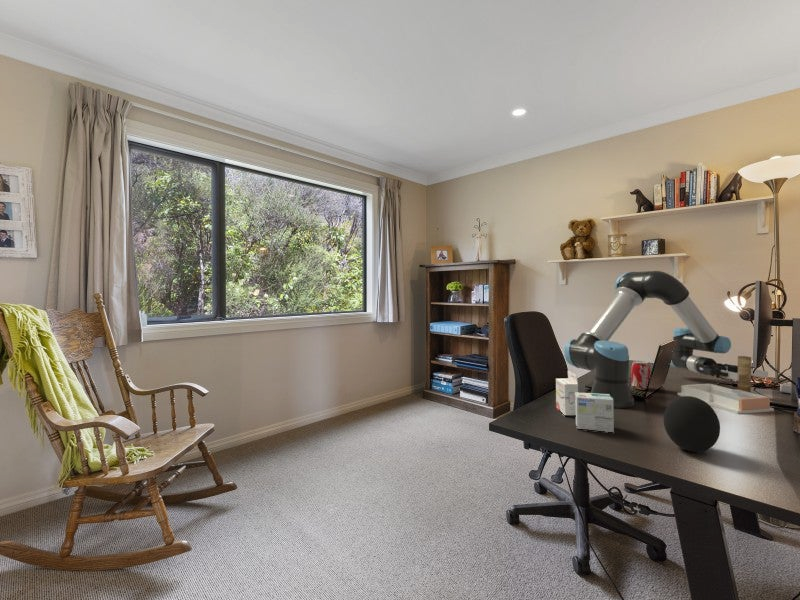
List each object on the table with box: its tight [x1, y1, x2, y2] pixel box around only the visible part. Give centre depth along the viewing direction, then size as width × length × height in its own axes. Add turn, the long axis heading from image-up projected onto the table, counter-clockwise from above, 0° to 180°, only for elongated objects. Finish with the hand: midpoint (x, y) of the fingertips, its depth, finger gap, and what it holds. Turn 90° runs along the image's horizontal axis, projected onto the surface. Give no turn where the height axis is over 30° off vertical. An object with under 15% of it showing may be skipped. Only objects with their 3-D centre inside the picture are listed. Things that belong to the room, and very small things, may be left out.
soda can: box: [630, 360, 651, 388], centre depth 165 cm, size 7×7×12 cm
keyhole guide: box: [677, 383, 775, 415], centre depth 145 cm, size 15×24×5 cm, turn 8°
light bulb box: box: [575, 391, 615, 434], centre depth 122 cm, size 11×7×11 cm, turn 71°
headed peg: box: [732, 355, 758, 394], centre depth 152 cm, size 8×8×16 cm
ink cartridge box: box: [555, 370, 579, 416], centre depth 137 cm, size 9×5×15 cm, turn 179°
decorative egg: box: [663, 396, 721, 453], centre depth 104 cm, size 12×12×15 cm
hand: (752, 375), depth 149 cm, fingers open, 13 cm apart
